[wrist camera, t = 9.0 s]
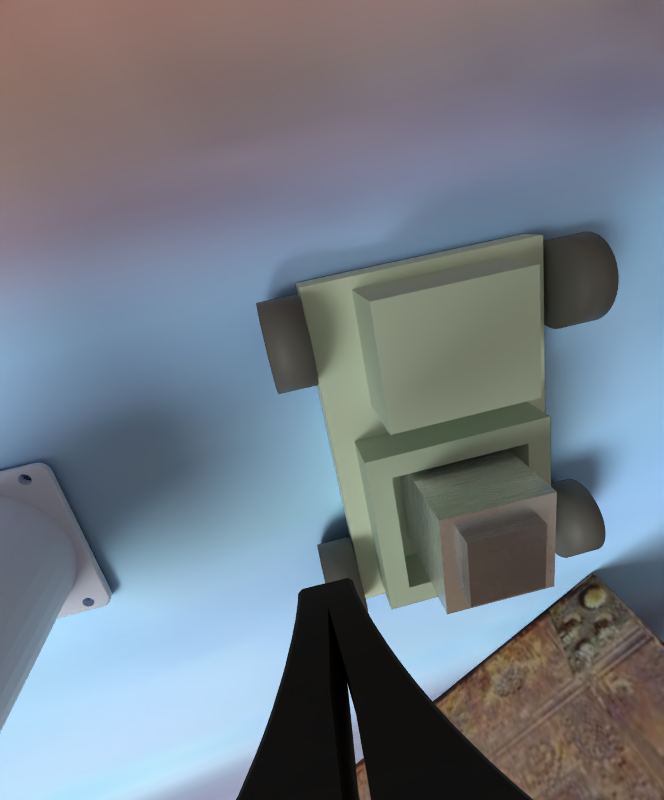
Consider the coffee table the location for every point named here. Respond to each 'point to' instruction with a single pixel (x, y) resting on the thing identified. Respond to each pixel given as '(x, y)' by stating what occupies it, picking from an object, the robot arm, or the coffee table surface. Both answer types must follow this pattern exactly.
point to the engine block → (482, 528)
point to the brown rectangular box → (569, 703)
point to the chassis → (436, 382)
